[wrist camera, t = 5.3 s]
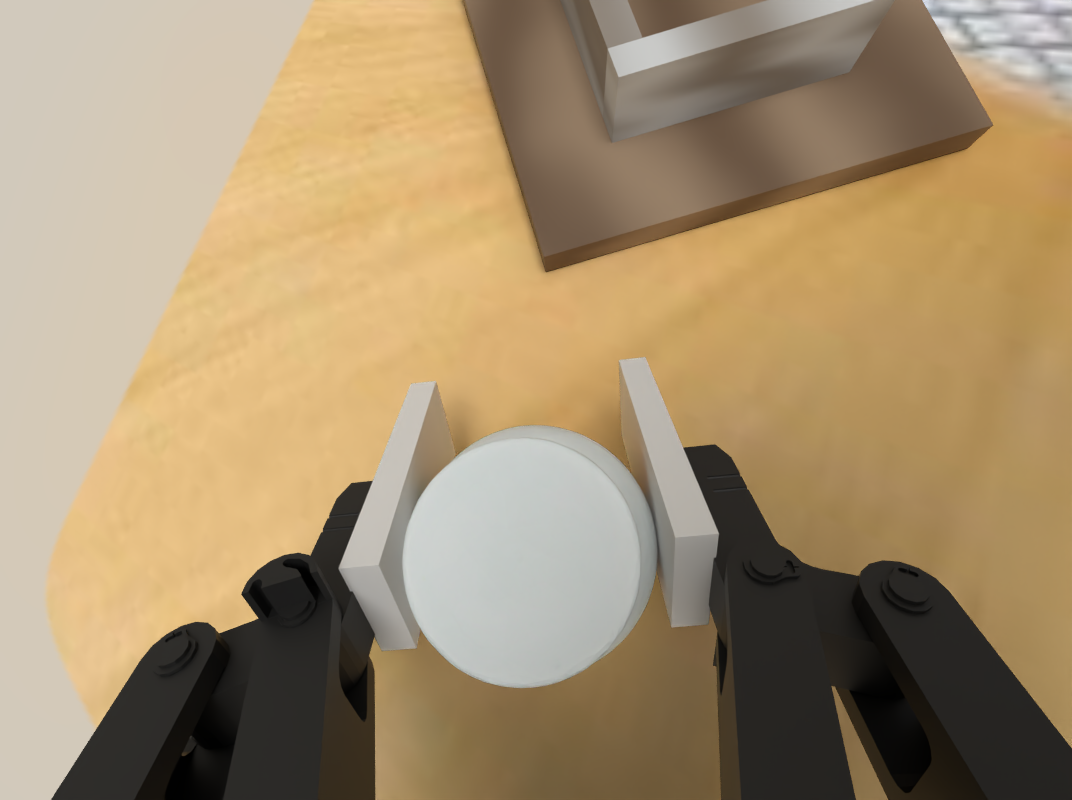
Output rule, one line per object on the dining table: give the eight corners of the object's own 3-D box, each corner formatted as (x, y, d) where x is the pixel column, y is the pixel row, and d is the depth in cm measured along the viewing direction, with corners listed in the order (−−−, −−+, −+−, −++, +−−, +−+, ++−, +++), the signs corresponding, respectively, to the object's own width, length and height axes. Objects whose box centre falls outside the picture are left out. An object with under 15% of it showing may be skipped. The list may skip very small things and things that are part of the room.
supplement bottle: (646, 588, 17) (735, 699, 7) (494, 627, 17) (392, 784, 7) (602, 436, 18) (632, 364, 9) (461, 473, 18) (336, 443, 9)
